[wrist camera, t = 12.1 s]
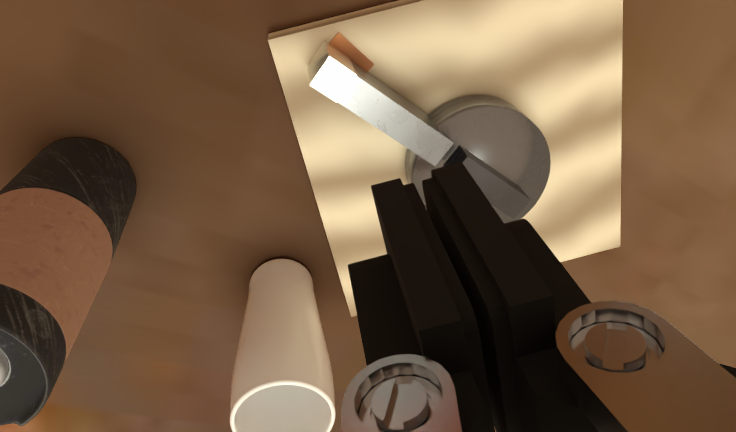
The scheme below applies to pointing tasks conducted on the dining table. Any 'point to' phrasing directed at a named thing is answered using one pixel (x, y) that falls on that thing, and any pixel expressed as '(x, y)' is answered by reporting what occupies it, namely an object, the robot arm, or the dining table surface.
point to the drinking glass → (282, 356)
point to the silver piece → (446, 133)
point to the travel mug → (54, 262)
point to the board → (458, 79)
